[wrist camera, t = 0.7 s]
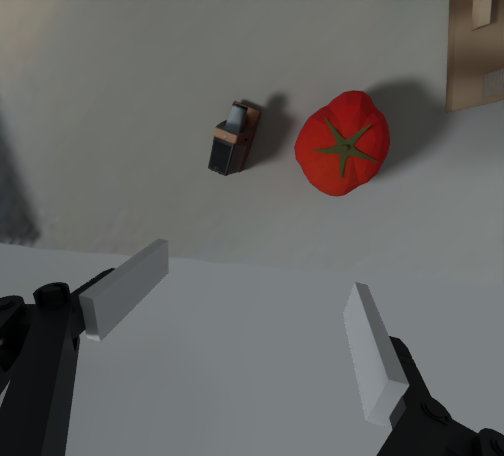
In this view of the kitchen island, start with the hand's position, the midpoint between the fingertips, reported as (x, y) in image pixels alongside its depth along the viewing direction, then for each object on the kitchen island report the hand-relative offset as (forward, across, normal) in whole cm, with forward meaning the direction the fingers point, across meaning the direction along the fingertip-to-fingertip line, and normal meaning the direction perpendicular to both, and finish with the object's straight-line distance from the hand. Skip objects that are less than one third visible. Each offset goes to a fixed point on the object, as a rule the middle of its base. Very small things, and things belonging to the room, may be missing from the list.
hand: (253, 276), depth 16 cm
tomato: (+25, +6, +9) cm, 27 cm away
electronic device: (+25, -8, +8) cm, 28 cm away
